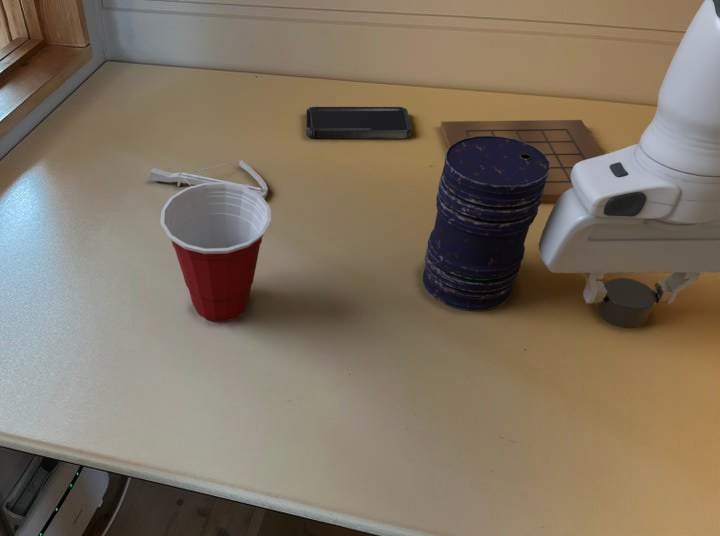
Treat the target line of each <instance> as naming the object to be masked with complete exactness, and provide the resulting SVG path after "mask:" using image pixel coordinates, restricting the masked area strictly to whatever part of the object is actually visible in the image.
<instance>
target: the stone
mask: <svg viewBox="0 0 720 536" xmlns="http://www.w3.org/2000/svg"><path fill="white" fill-rule="evenodd" d="M604 287H605V288H606V290H607V295H606V297H605V298H604V302H603V303H597V304H595V311H596V313H597V315H598V316H599V317H600V318H601V319H602V320H603V321H605V322H607V323H609V324H611V325H613V326H615V327H620V328H626V329H633V328H638V327H641V326H643V325H644V324H646V322H647V320H648V318H649V316H650V314H651V312H652V311H653V308H654V306H655V304H656V295H655V293H654V292H653V289H652V288H651V287H650V286H648V285H646V284H645V283H643V282H641V281H639V280H636V279H633V278H626V277H617V278H611V279H610V280H608V281H606V282H605V283H604Z"/></svg>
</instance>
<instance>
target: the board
mask: <svg viewBox="0 0 720 536" xmlns="http://www.w3.org/2000/svg"><path fill="white" fill-rule="evenodd" d="M439 130H440V133H441V135H442V138H443V142H444V144H445V147H446V151H447V150H448V149H449V147H450V146H452V145H453V144H454V143H456V142H458V141H460V140H463V139H466V138H470V137H477V136H499V137H506V138H511V139H516V140H519V141H522V142H525V143H527V144H530V145H532V146H534V147H535V148H537V149H538V150H540V151H541V152H542V153H543V154H545V156H546V157H547V158H548V160H549V162H550V170H549V173H548V176H547V179H546V182H545V186H544V192H543V196H542V200H541V203H540V204H552V203H553V204H555V203H556V202H557V200H558V199H559V197H560V196H561V195H562V194H563V193H564V192H566V191H567V190H569V189H571V188H573V185H572V182H571V178H570V176H571V172H572V169H573V167H574V166H575V164H577V163H578V162H580V161H583V160H587V159H590V158H594V157H598V156H601V155H605V153H604V152H603V149H602V148H601V147H600V145H599V144H598V142H597V141H596V140H595V138H594V136H593V135H592V133H591V132H590V130H589V129H588V127H587V126H586V125H585V123H584V122H583V120H582V119H543V120H541V119H539V120H537V119H535V120H534V119H533V120H466V121H464V120H463V121H459V120H457V121H456V120H454V121H450V120H449V121H441V122H440V127H439Z"/></svg>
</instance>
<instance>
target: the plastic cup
mask: <svg viewBox="0 0 720 536" xmlns="http://www.w3.org/2000/svg"><path fill="white" fill-rule="evenodd" d="M191 186H192V187H191ZM191 186H188V187H185V188H183V189H182V190H180V191H178V192H177V193H175V194H173V195H172V196H171V197H169V199H168V200H167V201H166V203H165V204H164V206H162V208H161V210H160V226H161V228H162V229H163V231H164V232H165V234H166V236H167V237H168V240H169V241H171V244H172V247H173V248H174V252H175V254H176V257H177V260H178V263H179V267H180V270H181V273H182V276H183V279H184V282H185V286H186V287H187V289H188V292H189V295H190V299H191V302H192V305H193V307H194V308H195V310H196V312H197V314H198V315H199V316H200V317H202V318H204V319H205V320H208V321H212V322H217V323H219V322H229V321H232V320H236V319H237V318H238V317H240V316H242V315H243V314H244V312H245V311H246V309H247V307H248V304H249V302H250V297H251V290H252V285H253V284H254V279H255V273H256V268H257V263H258V257H259V252H260V247H261V245H262V242H263V238H264V235H265V234H266V232H267V230H268V228H269V226H270V225H271V222H272V212H271V206H270V205H269V204H268V202H267V201H266V199H265V200H264V198H263V197H262V196H261V195H260V194H258V193H256V192H255V191H253V190H251V189H249V188H247V187H245V186H241V185H236V184H232V183H227V182H216V183H203V184H199V185H191Z"/></svg>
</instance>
